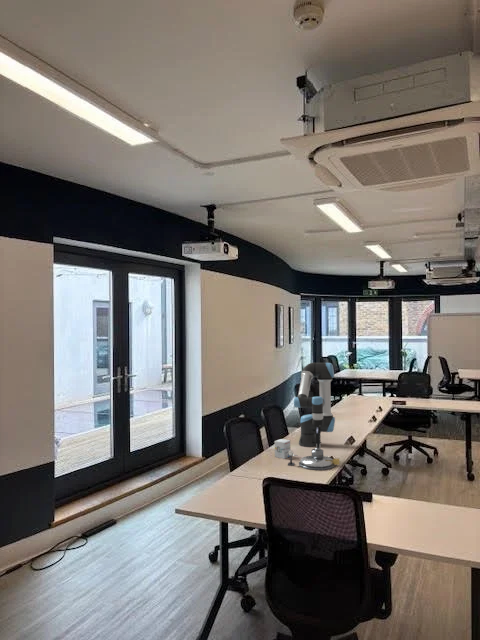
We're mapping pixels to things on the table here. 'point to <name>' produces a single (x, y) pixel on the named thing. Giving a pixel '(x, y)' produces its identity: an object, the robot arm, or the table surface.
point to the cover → (317, 453)
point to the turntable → (319, 462)
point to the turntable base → (316, 468)
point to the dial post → (291, 458)
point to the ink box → (282, 448)
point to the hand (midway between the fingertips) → (318, 452)
